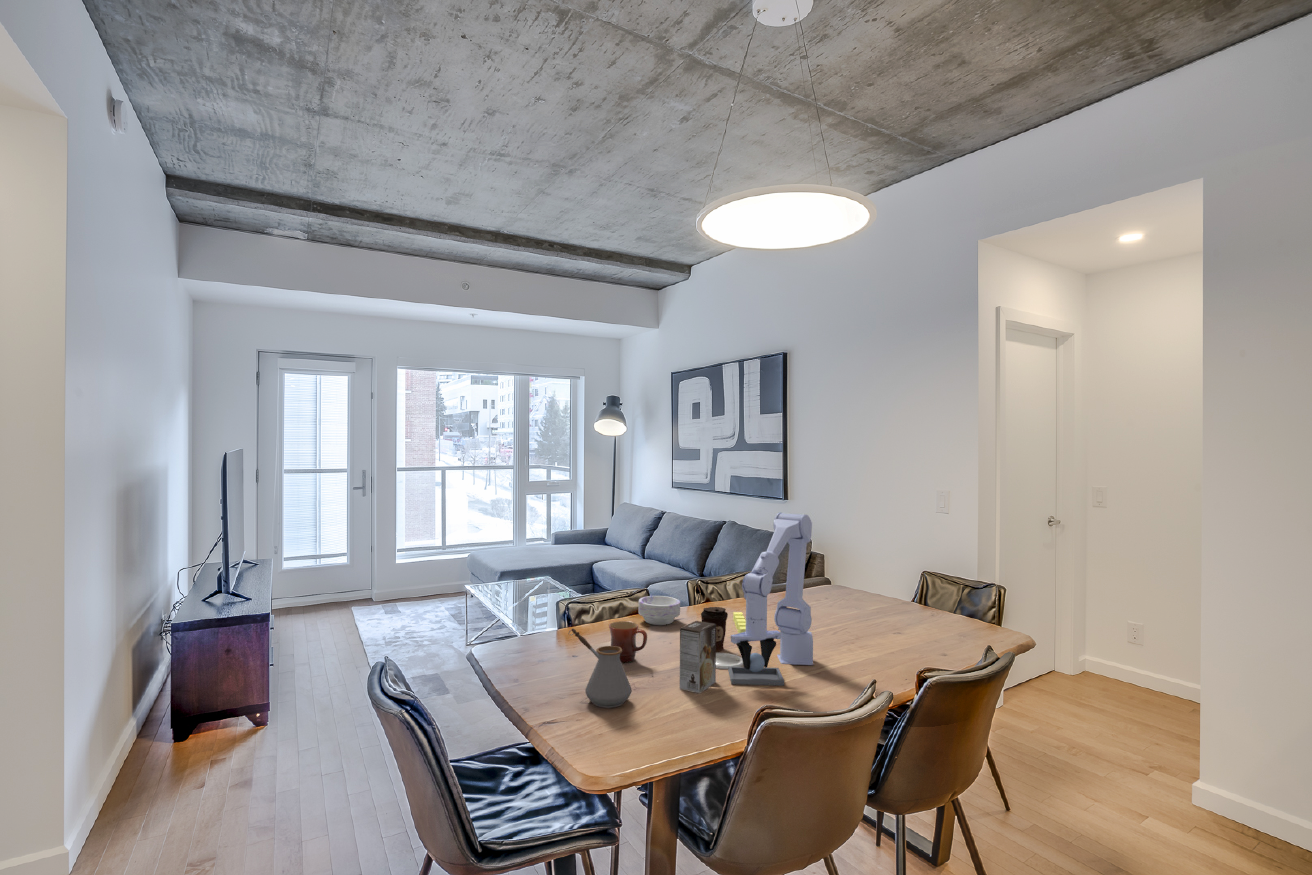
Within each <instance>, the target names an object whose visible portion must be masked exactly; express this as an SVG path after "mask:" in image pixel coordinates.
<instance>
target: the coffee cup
mask: <svg viewBox="0 0 1312 875" xmlns="http://www.w3.org/2000/svg"><path fill="white" fill-rule="evenodd" d="M726 610H727V608H724V607H720V606H709V607H704V608H703V610H702V611H701V613H700V615H701V616H700V617H701V622H707V623H713V624H716V653H722V652H724V650H725V648H724V643H725V637H726V633H727V631H726V630H727V628H726V627H727V621H728V616H729V614H728V612H727V611H726Z"/></svg>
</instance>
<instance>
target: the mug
mask: <svg viewBox="0 0 1312 875" xmlns="http://www.w3.org/2000/svg"><path fill="white" fill-rule="evenodd" d="M608 628H609V632H610V646H617V647H621V649H622V652H621V653H620V657H619V658H620V661H621V663H622V664H625V663H626V664H627V663H631V662H633V661H634V660H635V659H636V653H637V652H639V651H642V650H643V649H644V648H645V647H646V645H647V642H648V633H647V631H646V630H644V629H639V624H638V623H636V622H632V621H627V620H626V621H623V620H622V621H615V622H611V623H609V624H608ZM637 634H642V637H643V638H642V644H641V645H640V646H637V643H636V642H637V641H636V639H637V638H636V637H637Z"/></svg>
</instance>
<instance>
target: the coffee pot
mask: <svg viewBox="0 0 1312 875" xmlns="http://www.w3.org/2000/svg"><path fill="white" fill-rule="evenodd" d="M570 632H572V633H571V636H573V635H574V637H577V638H578V640H579V641H580V642H581V643H582V645H584V646H585V647H586V648H587V649H588V650H589V651H590V652H591V653H592V654H593V655H594V656H595V657H596V658H597V662H596V663H595V666H594V669H593V671H592V673H591V676H590V678H589V680H588V683H587V684H586V687H585V689H584V690H585V695H586V697H587V698H588V700H589V701H590V702H592V704H593V705H595V706H596V707H598V708H604V709H608V708H609V709H610V708H617V707H620V706H622V705H624V704H625V702H626V701H628V699H629V698H630V696H631V695H632V694H631V693H632V692H633V691H632V687H631V683H630V682H629V679H628V676H627V674H626V671H625V669H624V666H623V663H621V661H620V658H619V657H620V653H621V652H622V649H621V647H617V646H611V645H604V646H600V647H598V648H596V650H595V649H594V648H593V647H592V645H591V644H590V643H589V642H588V640H586V638H585V637H583V635H581V634H580V632H578V631H577V630H576V629H574V628H572V629H570V630H569V631H568V635H570Z"/></svg>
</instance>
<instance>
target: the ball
mask: <svg viewBox="0 0 1312 875" xmlns="http://www.w3.org/2000/svg"><path fill="white" fill-rule="evenodd" d="M764 665H765V661H764V658H763V657H762V655H761V653H758V652H751V655H750V670H751V671H753V672H759V671H761V670H762V669H763V668H764Z"/></svg>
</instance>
